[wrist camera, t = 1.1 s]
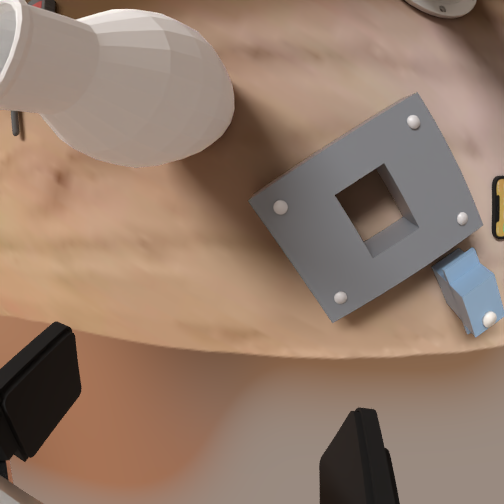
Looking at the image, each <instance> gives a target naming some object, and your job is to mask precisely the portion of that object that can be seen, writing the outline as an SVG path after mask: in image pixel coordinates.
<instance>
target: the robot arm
mask: <svg viewBox="0 0 504 504" xmlns="http://www.w3.org/2000/svg"><path fill="white" fill-rule="evenodd" d="M405 1H406V2H408V3H409V4H410V5H412V6H414V7H415V8H417V9H419V10H421V11H423V12H425V13H428V14H430V15H433V16H437V17H441V18H458V17H462V16H464V15H465V14H467V13H469V12H470V11H471V10H472V9H473V8H474V6H475V4H476V0H405ZM80 393H81V383H80V375H79V367H78V359H77V351H76V341H75V335H74V333H72V329H71V328H70V327H68V326H66V325H64V324H62V323H59V322H54V323H52V324H51V325H50V326H49V327H48V328H47V329H46V330H44V331H43V332H42V333H41V334H40V335H38V336H37V337H36V338H35V339H34V340H33V341H31V342H30V343H29V344H28V345H27V346H26V347H25V348H23V349H22V350H21V351H20V352H19V353H18V354H17V355H15V356H14V357H13V358H12V359H11V360H10V361H9V362H8V363H7V364H6V365H4V366H3V367H2V368H1V369H0V504H43V503H42V502H40V501H38V500H37V499H35V498H34V497H32V496H30V495H29V494H27V493H26V492H24V491H23V490H21V489H19V488H18V487H17V486H15V485H14V484H13V478H12V472H11V464H10V458H11V457H12V456H13V454H14V455H16V456H17V457H18V458H20V459H21V460H23V461H24V462H25V461H26V460H27V459H28V457H30V458H31V457H33V456H34V455H35V454H36V453H37V451H38V450H39V448H40V447H41V446H42V444H43V443H44V441H45V440H46V439H47V438H48V436H49V435H50V434H51V432H52V431H53V430H54V428H55V427H56V426H57V424H58V423H59V422H60V420H61V419H62V418H63V416H64V415H65V414H66V413H67V411H68V410H69V409H70V407H71V406H72V405H73V403H74V402H75V401H76V399H77V398H78V397H79V395H80ZM319 470H320V504H400V503H399V498H398V493H397V487H396V482H395V476H394V472H393V467H392V462H391V457H390V454H389V451H388V450H387V449H386V448H384V443H383V439H382V434H381V430H380V426H379V421H378V418H377V413H376V411H375V410H374V409H366V408H357V409H356V410H355V411H351V412H350V413H349V415H348V417H347V418H346V420H345V421H344V423H343V424H342V426H341V428H340V430H339V431H338V432H337V434H336V436H335V437H334V439H333V440H332V442H331V443H330V445H329V446H328V448H327V449H326V451H325V452H324V454H323V455H322V457H321V460H320V466H319Z"/></svg>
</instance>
